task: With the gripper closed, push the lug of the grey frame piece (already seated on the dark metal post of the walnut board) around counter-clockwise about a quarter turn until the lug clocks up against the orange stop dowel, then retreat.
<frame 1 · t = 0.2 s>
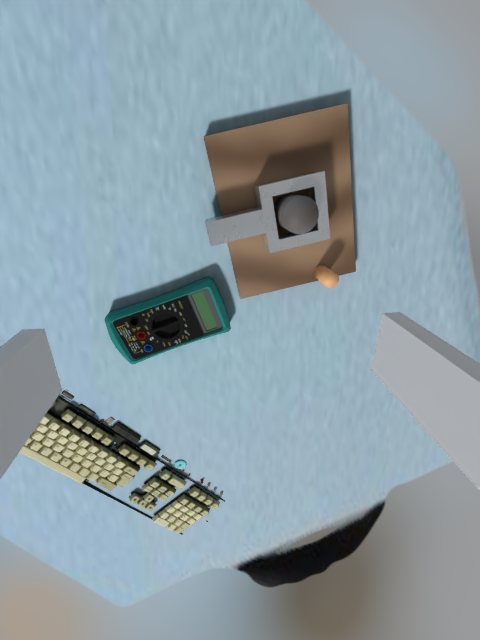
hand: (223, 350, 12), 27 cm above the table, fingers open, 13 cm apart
keyboard: (114, 453, 49), on the table
digital multimeter: (171, 316, 40), on the table
grey frame piece: (265, 219, 33), point 3 cm above the table, hinge at 0.0°
dowel pin: (316, 269, 39), resting on board
board: (285, 210, 36), on the table
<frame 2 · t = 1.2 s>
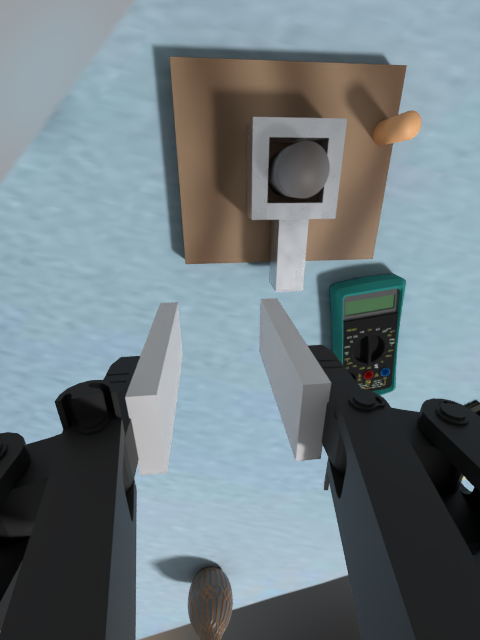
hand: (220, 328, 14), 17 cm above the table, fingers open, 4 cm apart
digital multimeter: (357, 334, 35), on the table
grey frame piece: (289, 212, 25), point 3 cm above the table, hinge at 0.0°
dowel pin: (374, 135, 26), resting on board
board: (282, 173, 27), on the table
vase: (210, 572, 51), on the table
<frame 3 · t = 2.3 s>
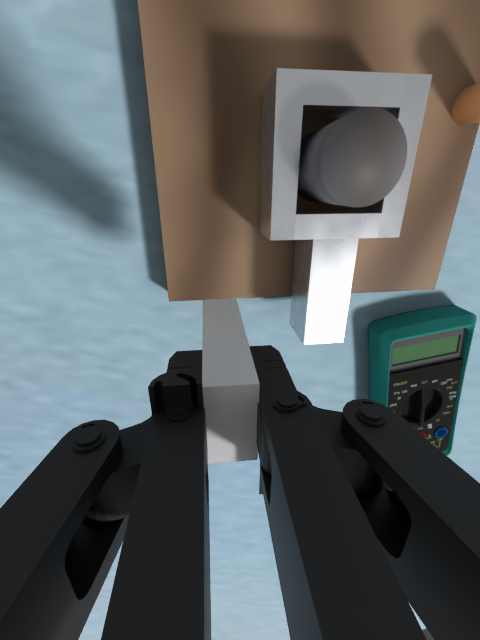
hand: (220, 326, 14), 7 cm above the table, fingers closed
digital multimeter: (401, 382, 27), on the table
grey frame piece: (325, 227, 17), point 3 cm above the table, hinge at 0.0°
dowel pin: (446, 112, 18), resting on board
board: (311, 168, 18), on the table
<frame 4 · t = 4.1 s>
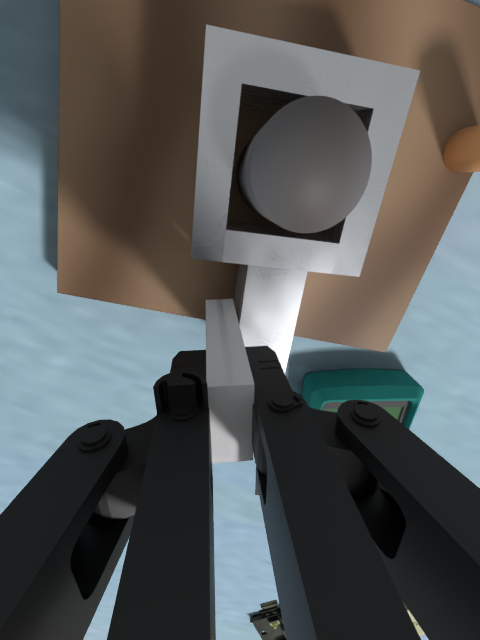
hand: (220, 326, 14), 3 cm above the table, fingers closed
keyboard: (451, 571, 34), on the table
digital multimeter: (335, 442, 24), on the table
grey frame piece: (272, 250, 13), point 3 cm above the table, hinge at 6.3°, touching gripper
dowel pin: (439, 153, 15), resting on board
board: (270, 175, 15), on the table
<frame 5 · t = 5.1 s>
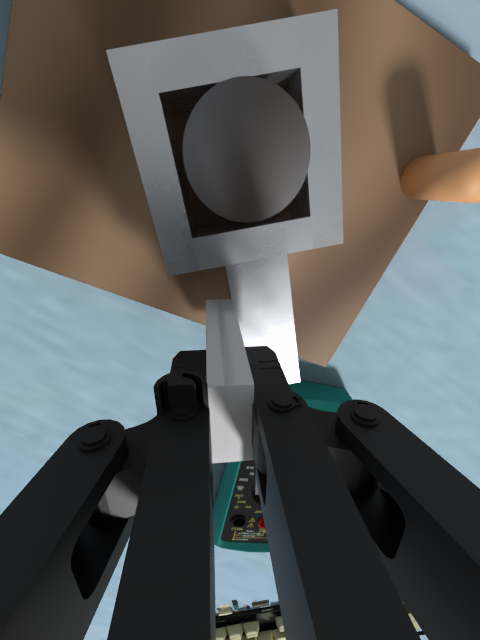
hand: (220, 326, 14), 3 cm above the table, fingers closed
keyboard: (370, 599, 34), on the table
digital multimeter: (270, 453, 23), on the table
grey frame piece: (249, 242, 13), point 3 cm above the table, hinge at 33.2°, touching gripper
dowel pin: (400, 179, 15), resting on board
board: (232, 168, 14), on the table
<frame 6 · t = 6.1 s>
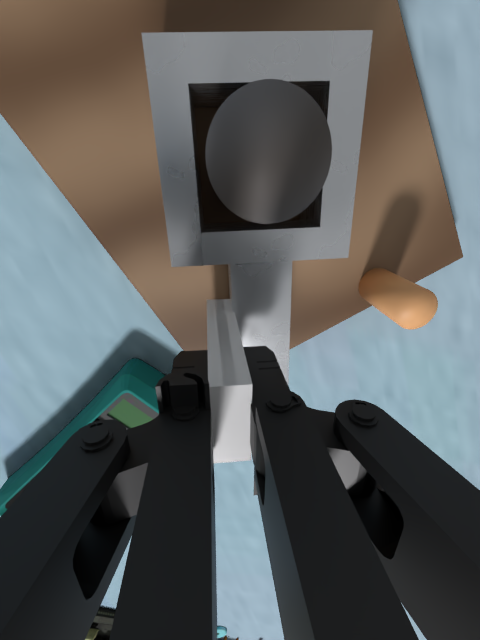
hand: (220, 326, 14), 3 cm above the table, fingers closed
keyboard: (115, 633, 32), on the table
digital multimeter: (114, 443, 21), on the table
grey frame piece: (256, 245, 13), point 3 cm above the table, hinge at 62.0°, touching gripper
dowel pin: (362, 277, 17), resting on board
board: (247, 169, 14), on the table
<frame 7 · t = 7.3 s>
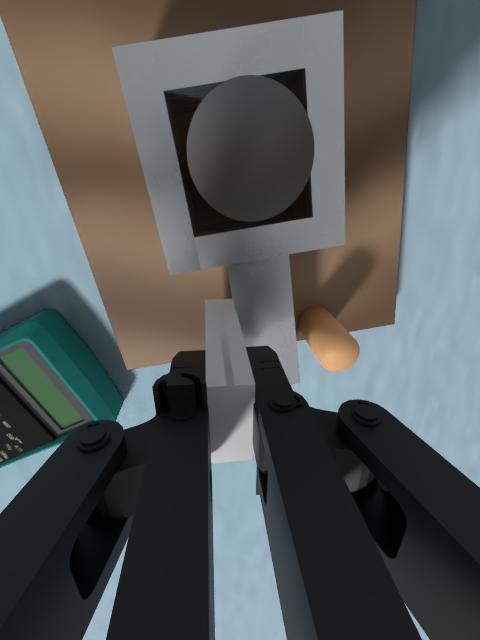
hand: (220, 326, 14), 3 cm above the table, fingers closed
grey frame piece: (251, 242, 13), point 3 cm above the table, hinge at 90.3°, touching gripper
dowel pin: (306, 311, 18), resting on board
board: (235, 168, 14), on the table
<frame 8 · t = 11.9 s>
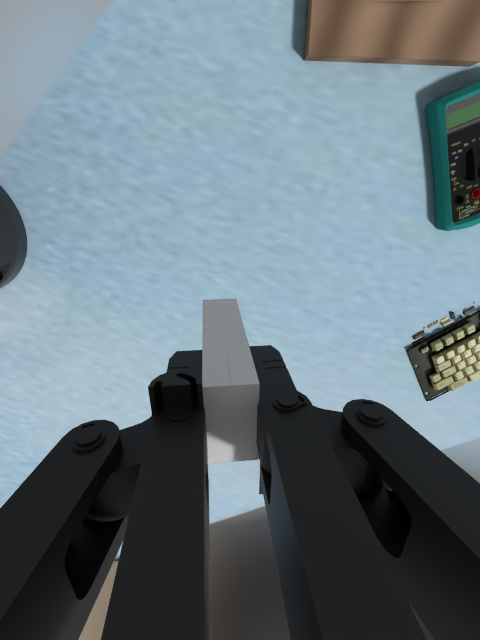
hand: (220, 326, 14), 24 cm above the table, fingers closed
digital multimeter: (456, 161, 36), on the table
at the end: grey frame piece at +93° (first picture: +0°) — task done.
